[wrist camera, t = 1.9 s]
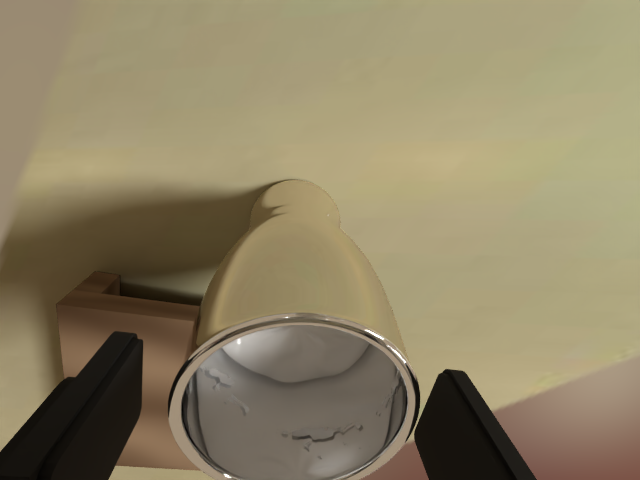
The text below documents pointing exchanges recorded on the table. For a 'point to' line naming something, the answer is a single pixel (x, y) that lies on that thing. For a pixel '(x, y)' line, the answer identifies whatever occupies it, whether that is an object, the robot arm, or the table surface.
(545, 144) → the table surface
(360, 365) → the beer glass
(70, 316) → the walnut shelf
